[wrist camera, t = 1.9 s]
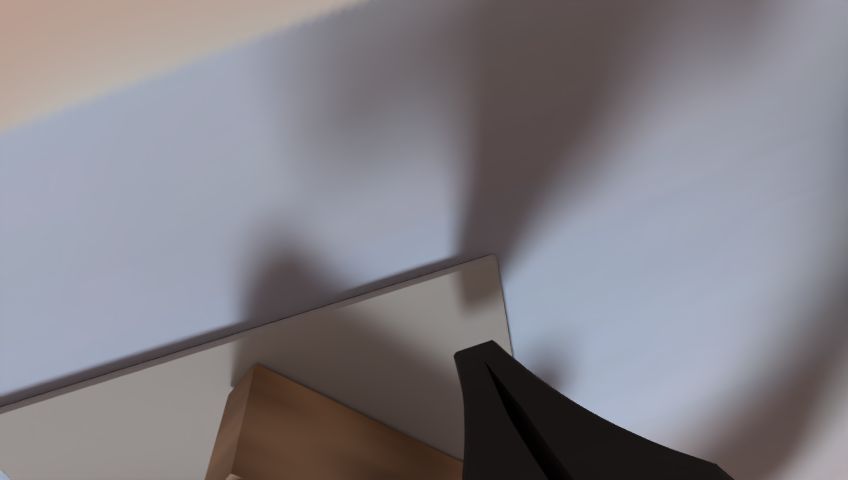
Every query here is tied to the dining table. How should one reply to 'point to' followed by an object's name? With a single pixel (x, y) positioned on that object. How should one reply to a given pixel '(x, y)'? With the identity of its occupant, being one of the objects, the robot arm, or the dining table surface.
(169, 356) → the base mat
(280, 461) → the gate
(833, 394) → the dining table surface
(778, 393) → the dining table surface
